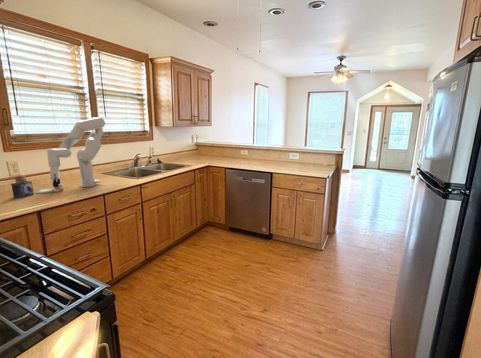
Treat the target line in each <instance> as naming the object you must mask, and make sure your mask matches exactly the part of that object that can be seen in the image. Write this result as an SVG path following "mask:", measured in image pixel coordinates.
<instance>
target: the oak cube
mask: <svg viewBox="0 0 481 358" xmlns="http://www.w3.org/2000/svg"><path fill="white" fill-rule="evenodd" d="M53 188H54V192H63V190H64V184H63V183H60V184H58V187H53Z"/></svg>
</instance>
